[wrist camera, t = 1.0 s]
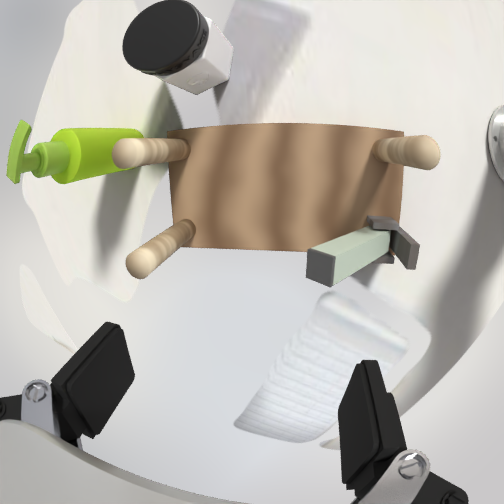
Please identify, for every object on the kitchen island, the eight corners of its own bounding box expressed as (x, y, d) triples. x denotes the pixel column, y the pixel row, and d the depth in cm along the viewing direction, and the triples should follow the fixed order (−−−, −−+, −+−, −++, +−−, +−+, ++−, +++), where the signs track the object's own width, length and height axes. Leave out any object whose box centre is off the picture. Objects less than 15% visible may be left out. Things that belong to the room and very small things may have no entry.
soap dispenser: (156, 131, 33) (36, 132, 14) (136, 176, 36) (21, 210, 17) (125, 116, 33) (8, 113, 14) (108, 159, 35) (-5, 183, 17)
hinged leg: (373, 224, 30) (392, 228, 29) (370, 244, 31) (389, 250, 30) (307, 249, 23) (332, 257, 21) (306, 277, 24) (330, 287, 22)
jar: (182, 104, 31) (130, 90, 20) (163, 57, 29) (110, 32, 18) (246, 74, 29) (218, 39, 17) (222, 26, 26) (188, -17, 15)
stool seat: (398, 132, 28) (454, 126, 15) (390, 249, 33) (430, 305, 20) (174, 131, 33) (106, 128, 20) (181, 242, 38) (126, 288, 25)
